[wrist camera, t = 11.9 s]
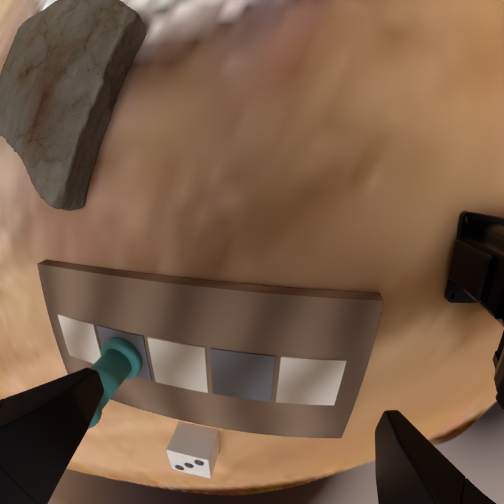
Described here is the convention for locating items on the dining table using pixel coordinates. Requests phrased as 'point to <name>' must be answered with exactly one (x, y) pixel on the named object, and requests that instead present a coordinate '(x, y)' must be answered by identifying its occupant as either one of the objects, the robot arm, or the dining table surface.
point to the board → (220, 346)
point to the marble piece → (66, 91)
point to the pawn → (115, 369)
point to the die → (194, 449)
